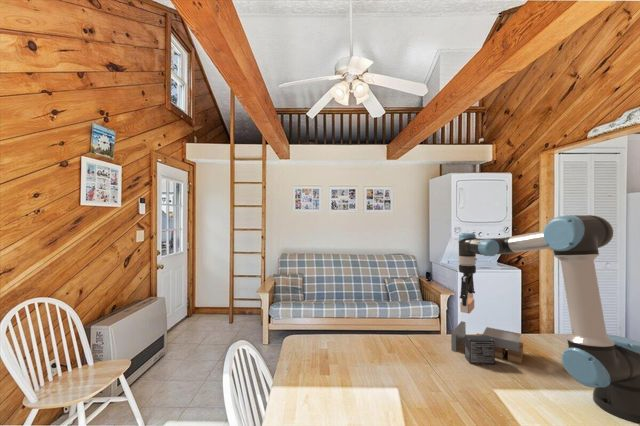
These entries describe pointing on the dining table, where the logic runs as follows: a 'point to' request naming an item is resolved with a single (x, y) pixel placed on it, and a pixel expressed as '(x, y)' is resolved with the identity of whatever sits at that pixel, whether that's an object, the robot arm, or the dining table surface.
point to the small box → (479, 349)
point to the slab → (504, 338)
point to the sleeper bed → (509, 353)
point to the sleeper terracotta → (469, 305)
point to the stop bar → (458, 336)
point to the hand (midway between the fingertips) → (467, 309)
